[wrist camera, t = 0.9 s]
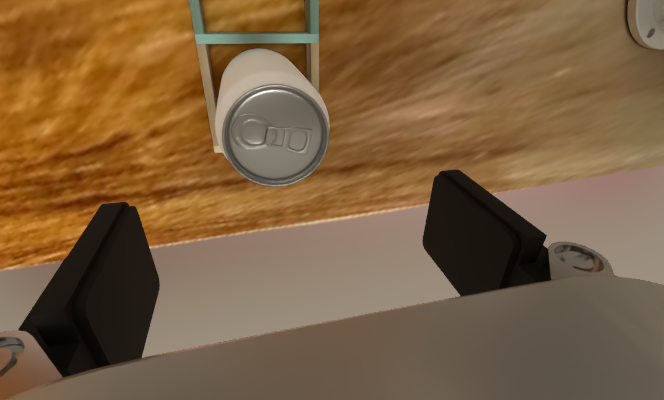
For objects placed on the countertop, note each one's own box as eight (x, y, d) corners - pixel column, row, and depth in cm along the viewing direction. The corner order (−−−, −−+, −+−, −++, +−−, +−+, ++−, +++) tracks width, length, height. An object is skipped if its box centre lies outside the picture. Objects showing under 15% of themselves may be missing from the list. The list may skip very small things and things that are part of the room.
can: (225, 37, 25) (219, 61, 15) (308, 58, 28) (350, 90, 17) (217, 121, 28) (207, 186, 18) (293, 133, 30) (321, 199, 20)
